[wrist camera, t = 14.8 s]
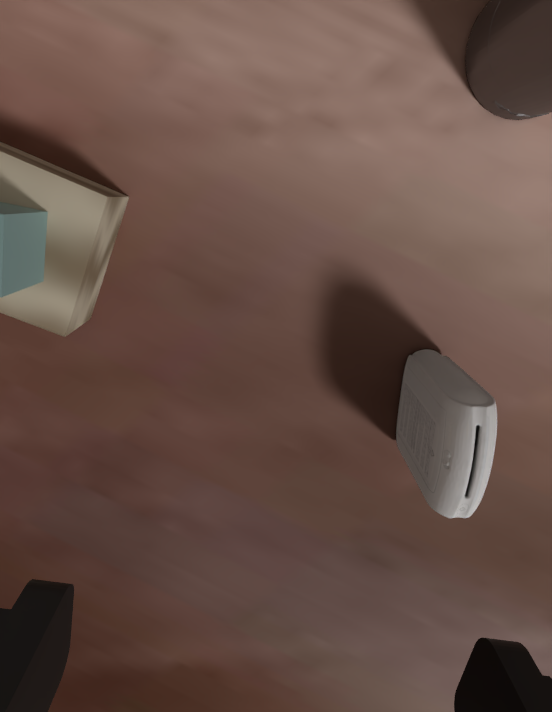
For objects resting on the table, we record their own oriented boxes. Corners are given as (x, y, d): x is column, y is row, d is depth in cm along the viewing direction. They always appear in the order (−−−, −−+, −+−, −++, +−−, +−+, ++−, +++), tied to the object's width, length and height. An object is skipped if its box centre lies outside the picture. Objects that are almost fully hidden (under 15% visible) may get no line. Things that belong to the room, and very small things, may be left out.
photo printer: (434, 449, 47) (491, 533, 35) (390, 448, 47) (433, 532, 35) (450, 348, 44) (518, 404, 32) (403, 347, 44) (455, 402, 32)
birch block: (-6, 138, 38) (-54, 128, 32) (130, 196, 39) (107, 196, 34) (-36, 269, 41) (-84, 280, 35) (91, 318, 42) (64, 336, 37)
